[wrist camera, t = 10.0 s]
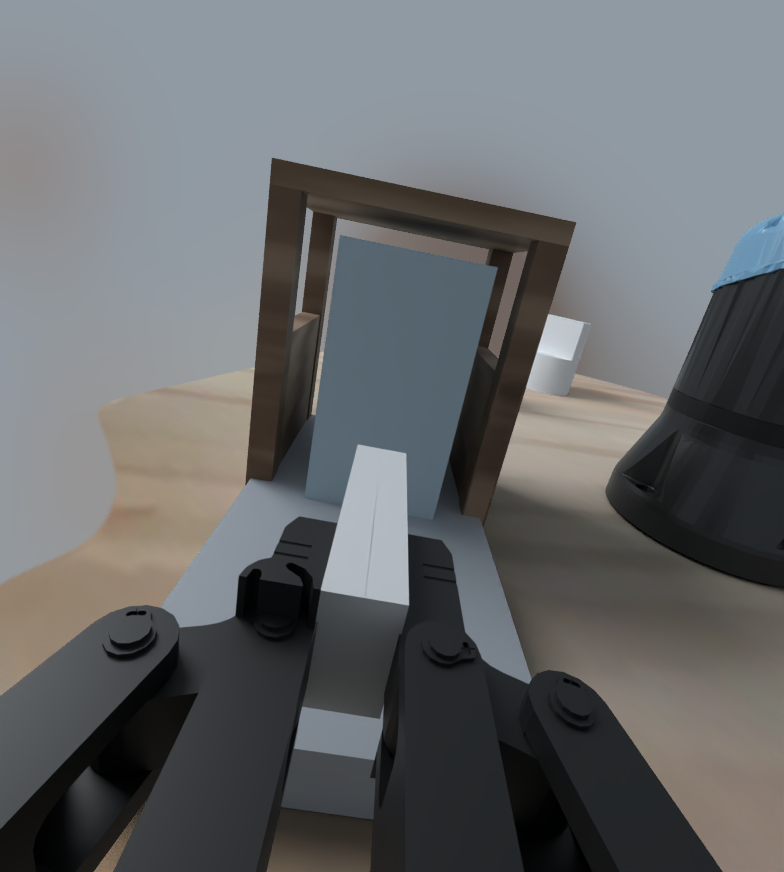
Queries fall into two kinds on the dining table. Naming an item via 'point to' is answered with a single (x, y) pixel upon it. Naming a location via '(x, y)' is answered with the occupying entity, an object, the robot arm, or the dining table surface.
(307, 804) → the runway
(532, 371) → the cylinder with rectangular tab
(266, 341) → the tunnel
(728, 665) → the dining table surface
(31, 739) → the robot arm
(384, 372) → the block
